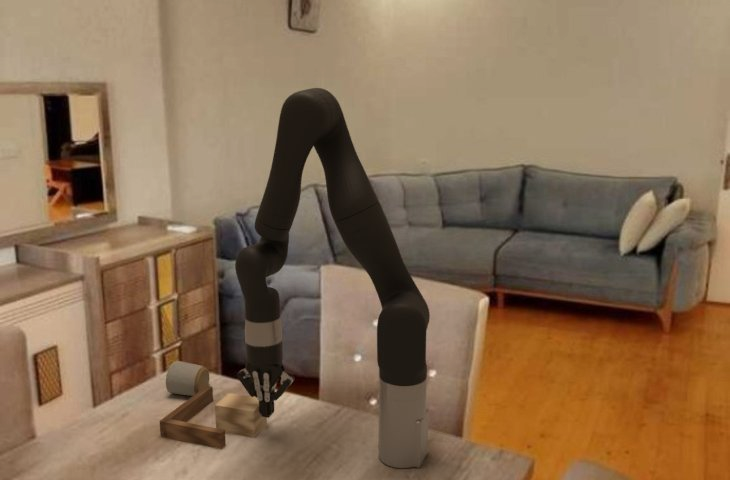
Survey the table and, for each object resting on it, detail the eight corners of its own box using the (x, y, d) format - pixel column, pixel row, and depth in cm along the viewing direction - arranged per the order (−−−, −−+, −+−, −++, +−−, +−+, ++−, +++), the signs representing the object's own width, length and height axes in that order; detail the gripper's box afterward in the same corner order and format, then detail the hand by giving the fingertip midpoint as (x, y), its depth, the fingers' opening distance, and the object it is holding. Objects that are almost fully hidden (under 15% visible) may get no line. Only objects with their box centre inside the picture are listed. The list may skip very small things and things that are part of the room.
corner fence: (263, 409, 157) (263, 395, 157) (221, 449, 141) (221, 433, 140) (207, 399, 162) (206, 385, 161) (160, 436, 146) (159, 421, 145)
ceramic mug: (197, 402, 161) (196, 371, 159) (165, 398, 163) (163, 367, 161) (217, 383, 171) (216, 354, 169) (187, 380, 173) (185, 351, 171)
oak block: (266, 424, 151) (266, 398, 150) (254, 437, 145) (253, 411, 144) (229, 417, 154) (228, 393, 152) (216, 430, 148) (214, 405, 147)
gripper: (301, 335, 144) (303, 412, 148) (244, 328, 148) (248, 403, 152) (284, 348, 137) (287, 429, 141) (226, 340, 141) (230, 418, 145)
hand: (267, 415), depth 146 cm, fingers closed
